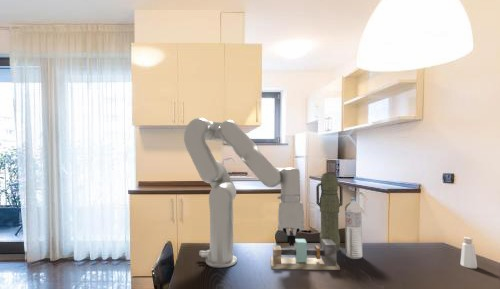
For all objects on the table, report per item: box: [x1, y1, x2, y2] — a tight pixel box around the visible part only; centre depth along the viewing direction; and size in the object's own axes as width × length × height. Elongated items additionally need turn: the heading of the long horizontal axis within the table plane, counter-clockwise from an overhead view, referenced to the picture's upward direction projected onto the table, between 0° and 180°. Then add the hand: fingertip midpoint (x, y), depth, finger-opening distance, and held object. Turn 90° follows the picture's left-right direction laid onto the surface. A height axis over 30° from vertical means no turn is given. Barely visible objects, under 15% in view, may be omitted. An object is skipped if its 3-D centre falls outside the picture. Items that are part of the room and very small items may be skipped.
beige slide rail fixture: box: [269, 239, 341, 271], centre depth 108 cm, size 26×9×9 cm, turn 88°
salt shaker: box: [459, 236, 478, 269], centre depth 107 cm, size 5×5×11 cm
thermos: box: [315, 172, 344, 253], centre depth 126 cm, size 9×12×35 cm
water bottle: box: [344, 197, 363, 260], centre depth 117 cm, size 7×7×25 cm
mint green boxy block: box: [294, 238, 308, 262], centre depth 108 cm, size 4×5×8 cm
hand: (291, 244), depth 108 cm, fingers closed
